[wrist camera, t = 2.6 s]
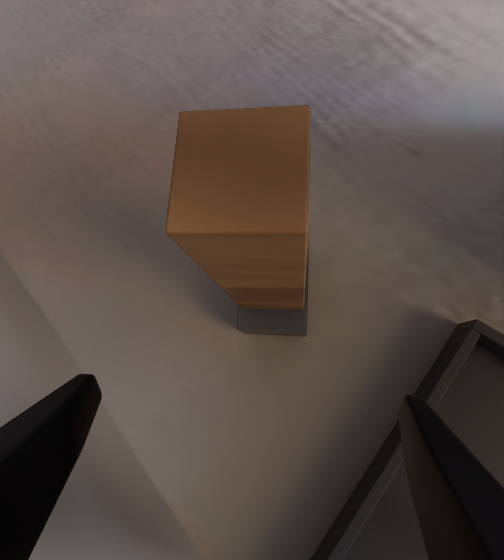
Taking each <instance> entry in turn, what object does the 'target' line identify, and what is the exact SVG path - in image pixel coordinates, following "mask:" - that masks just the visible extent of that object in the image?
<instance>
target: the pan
mask: <svg viewBox="0 0 504 560" xmlns="http://www.w3.org/2000/svg"><path fill="white" fill-rule="evenodd" d="M414 395H418V396H421V397H422V398H423V399H424V400H425V401H426V402H427V403H428V404H429V405H430V406H431V407H432V409H433V410H434V411H435V412H436V413H437V414H438V415H439V416H440V417H441V419H442V420H443V421H444V422H445V423H446V424H447V425H448V426H449V427H450V429H451V430H452V431H453V432H454V433H455V434H456V435H457V436H458V437H459V439H460V440H461V441H462V442H463V443H464V444H465V445H466V446H467V447H468V449H469V450H470V451H471V452H472V453H473V454H474V455H475V456H476V457H477V459H478V460H479V461H480V462H481V463H482V464H483V465H484V466H485V467H486V469H487V470H488V471H489V472H490V473H491V474H492V475H493V476H494V477H495V479H496V480H497V481H498V482H499V483H500V484H501V485H502V486H503V487H504V335H503V334H501V333H499V332H498V331H496V330H494V329H493V328H491V327H489V326H488V325H486V324H484V323H483V322H481V321H479V320H477V319H476V320H472V321H468V322H464V323H460V324H458V326H457V327H456V329H455V331H454V332H453V334H452V335H451V337H450V339H449V340H448V342H447V343H446V345H445V347H444V348H443V350H442V351H441V353H440V354H439V356H438V358H437V359H436V361H435V362H434V364H433V366H432V367H431V369H430V370H429V372H428V374H427V375H426V377H425V378H424V380H423V381H422V383H421V385H420V386H419V388H418V389H417V391H416V393H415V394H414ZM311 560H429V559H428V555H427V551H426V548H425V544H424V540H423V536H422V533H421V529H420V525H419V521H418V518H417V514H416V510H415V506H414V503H413V499H412V495H411V491H410V487H409V483H408V478H407V472H406V466H405V459H404V452H403V446H402V439H401V433H400V426H399V420H398V421H397V423H396V424H395V426H394V428H393V429H392V431H391V432H390V434H389V436H388V437H387V439H386V440H385V442H384V444H383V445H382V447H381V448H380V450H379V451H378V453H377V455H376V456H375V458H374V459H373V461H372V463H371V464H370V466H369V467H368V469H367V471H366V472H365V474H364V475H363V477H362V478H361V480H360V482H359V483H358V485H357V486H356V488H355V490H354V491H353V493H352V494H351V496H350V498H349V499H348V501H347V502H346V504H345V506H344V507H343V509H342V510H341V512H340V513H339V515H338V517H337V518H336V520H335V521H334V523H333V525H332V526H331V528H330V529H329V531H328V533H327V534H326V536H325V537H324V539H323V541H322V542H321V544H320V545H319V547H318V548H317V550H316V552H315V553H314V555H313V556H312V558H311Z"/></svg>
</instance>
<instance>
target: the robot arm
mask: <svg viewBox="0 0 504 560" xmlns="http://www.w3.org/2000/svg"><path fill="white" fill-rule="evenodd" d="M101 398H102V393H101V390H100V388H99V385H98V383H97V380H96V378H95V376H94V375H92V374H79V375H77V376H76V377H74V378H73V379H71V380H70V381H68V382H67V383H65V384H64V385H62V386H61V387H59V388H58V389H57V390H55V391H53V392H52V393H51V394H49V395H48V396H46V397H45V398H43V399H42V400H40V401H39V402H37V403H36V404H34V405H33V406H31V407H30V408H29V409H27V410H26V411H24V412H23V413H21V414H20V415H18V416H17V417H15V418H14V419H12V420H11V421H9V422H8V423H6V424H5V425H4V426H2V427H1V428H0V560H28V559H29V557H30V555H31V553H32V551H33V549H34V547H35V545H36V543H37V541H38V539H39V537H40V535H41V533H42V531H43V529H44V527H45V525H46V523H47V521H48V518H49V516H50V514H51V512H52V510H53V508H54V506H55V504H56V502H57V500H58V498H59V496H60V494H61V492H62V490H63V488H64V486H65V484H66V482H67V480H68V477H69V476H70V473H71V471H72V469H73V467H74V465H75V463H76V461H77V459H78V457H79V455H80V453H81V451H82V449H83V446H84V444H85V441H86V439H87V436H88V433H89V431H90V428H91V426H92V423H93V420H94V417H95V415H96V412H97V409H98V407H99V404H100V402H101ZM399 426H400V433H401V439H402V446H403V452H404V459H405V466H406V472H407V478H408V483H409V487H410V491H411V495H412V499H413V503H414V506H415V510H416V514H417V518H418V521H419V525H420V529H421V533H422V536H423V540H424V544H425V548H426V551H427V555H428V559H429V560H504V487H503V486H502V485H501V484H500V483H499V482H498V481H497V480H496V479H495V477H494V476H493V475H492V474H491V473H490V472H489V471H488V470H487V469H486V467H485V466H484V465H483V464H482V463H481V462H480V461H479V460H478V459H477V457H476V456H475V455H474V454H473V453H472V452H471V451H470V450H469V449H468V447H467V446H466V445H465V444H464V443H463V442H462V441H461V440H460V439H459V437H458V436H457V435H456V434H455V433H454V432H453V431H452V430H451V429H450V427H449V426H448V425H447V424H446V423H445V422H444V421H443V420H442V419H441V417H440V416H439V415H438V414H437V413H436V412H435V411H434V410H433V409H432V407H431V406H430V405H429V404H428V403H427V402H426V401H425V400H424V399H423V398H422V397H421V396H418V395H405V396H404V397H403V400H402V404H401V408H400V412H399Z"/></svg>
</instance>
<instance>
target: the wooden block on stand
mask: <svg viewBox="0 0 504 560" xmlns="http://www.w3.org/2000/svg"><path fill="white" fill-rule="evenodd" d="M310 125H311V108H310V106H308V105H303V106H283V107H263V108H244V109H224V110H205V111H185V112H180V114H179V121H178V130H177V138H176V146H175V155H174V163H173V171H172V180H171V188H170V196H169V205H168V213H167V221H166V230H165V231H166V234H167V235H168V236H169V237H170V238H171V239H172V240H173V241H174V242H175V243H176V244H177V245H179V246H180V247H181V248H182V249H183V250H184V251H185V252H186V253H187V254H188V255H189V256H190V257H191V258H192V259H193V260H194V261H195V262H196V263H197V264H198V265H199V266H200V267H201V268H202V269H203V270H204V271H205V272H206V273H207V274H208V275H209V276H210V277H211V278H212V279H213V280H214V281H215V282H216V283H217V284H218V285H219V286H220V287H221V288H222V289H223V290H224V291H225V292H226V293H227V294H228V295H229V296H230V297H231V298H232V299H233V300H234V301H235V302H236V303H237V304H238V305H239V307H238V323H237V329H238V330H240V331H242V332H243V333H245V334H263V335H285V336H306V334H307V305H308V246H309V183H310Z"/></svg>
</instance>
